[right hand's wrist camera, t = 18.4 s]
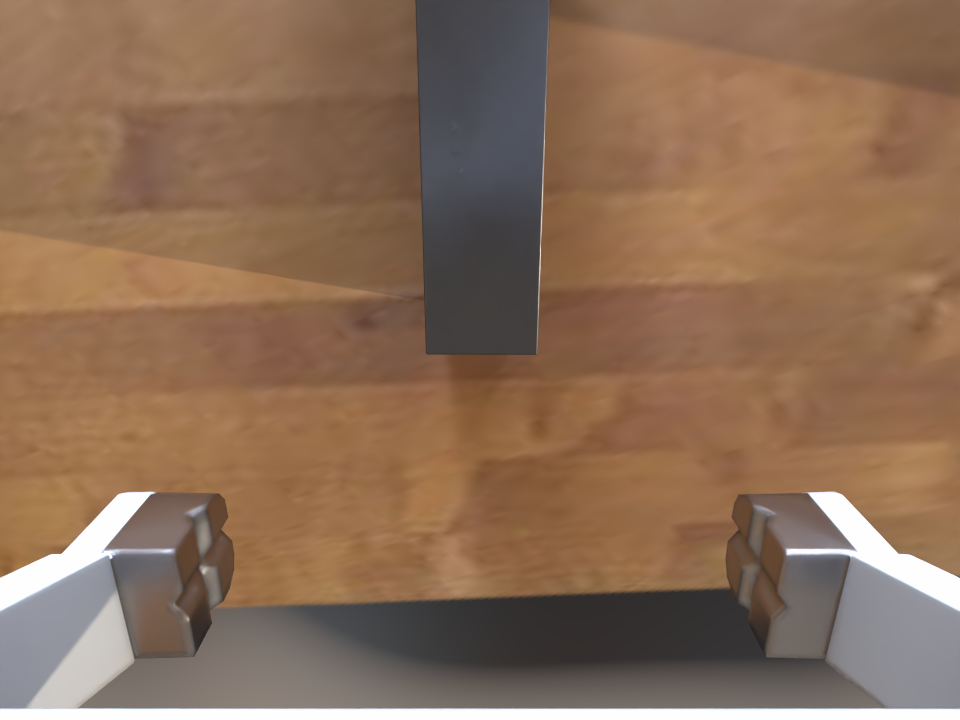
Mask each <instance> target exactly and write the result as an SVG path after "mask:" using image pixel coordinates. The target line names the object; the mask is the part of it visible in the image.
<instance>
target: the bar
mask: <svg viewBox="0 0 960 720" xmlns="http://www.w3.org/2000/svg"><path fill="white" fill-rule="evenodd" d="M549 14H550V0H416V30H417V64H418V97H419V131H420V165H421V199H422V232H423V266H424V300H425V333H426V354H514V355H536V354H537V353H538V326H539V298H540V269H541V241H542V213H543V184H544V156H545V128H546V99H547V71H548V43H549Z"/></svg>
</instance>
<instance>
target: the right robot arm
mask: <svg viewBox="0 0 960 720" xmlns="http://www.w3.org/2000/svg"><path fill="white" fill-rule="evenodd" d="M227 518H228V514H227V509H226V504H225V499H224V498H223V497H222V496H221V495H220V494H217V493H168V492H158V493H155V492H126V493H122V494H118V495H117V496H116V497H115V498H114V499H113V500H112V502H111V503H110V504H109V505H108V506H107V507H106V508H105V509H104V510H103V511H102V512H101V513H100V514H99V515H98V516H97V517H96V518H95V520H94V521H93V522H92V523H91V524H90V525H89V526H88V527H87V528H86V529H85V530H84V531H83V532H82V533H81V534H80V535H79V536H78V537H77V539H76V540H75V541H74V542H73V543H72V544H71V545H70V546H69V547H68V548H67V549H66V550H65V551H64V552H63V553H62V554H51V555H49V556H46V557H44V558H42V559H40V560H38V561H36V562H34V563H32V564H29V565H27V566H25V567H23V568H21V569H19V570H17V571H14V572H12V573H10V574H8V575H6V576H4V577H2V578H0V720H960V578H958V577H956V576H954V575H952V574H950V573H948V572H945V571H943V570H941V569H939V568H937V567H935V566H933V565H931V564H928V563H926V562H924V561H922V560H920V559H918V558H916V557H914V556H911V555H909V554H898V553H897V552H896V551H895V550H894V549H893V548H892V547H891V546H890V545H889V544H888V543H887V542H886V541H885V540H884V538H883V537H882V536H881V535H880V534H879V533H878V532H877V531H876V530H875V529H874V528H873V527H872V526H871V525H870V524H869V523H868V522H867V520H866V519H865V518H864V517H863V516H862V515H861V514H860V513H859V512H858V511H857V510H856V509H855V508H854V507H853V506H852V505H851V504H850V502H849V501H848V500H847V499H846V498H845V497H844V496H843V495H841V494H839V493H836V492H811V493H785V494H744V495H738V497H737V499H736V501H735V503H734V508H733V513H732V518H733V520H734V522H735V523H736V525H737V527H738V528H739V530H738V531H737V532H736V533H735V534H734V535H733V536H732V537H731V538H730V539H729V540H728V544H727V552H726V569H727V578H728V581H729V585H730V588H731V591H732V593H733V595H734V597H735V599H736V601H737V602H738V603H740V604H741V605H743V606H744V607H746V608H747V609H749V610H750V615H749V621H748V624H749V626H750V628H751V629H752V631H753V633H754V635H755V637H756V639H757V641H758V643H759V645H760V646H761V648H762V650H763V652H764V654H765V656H766V657H783V658H819V659H825V662H826V663H828V664H829V665H830V666H831V667H833V668H834V669H835V670H836V671H837V672H839V673H840V674H841V675H843V676H844V677H845V678H846V679H847V680H849V681H850V682H851V683H852V684H854V685H855V686H856V687H857V688H858V689H860V690H861V691H862V692H864V693H865V694H866V695H867V696H868V697H870V698H871V699H872V700H873V701H875V702H876V703H877V704H878V705H880V706H881V707H882V708H883V709H77V708H78V707H79V706H81V705H82V704H83V703H84V702H86V701H87V700H88V699H89V698H91V697H92V696H93V695H94V694H96V693H97V692H98V691H99V690H100V689H102V688H103V687H104V686H105V685H107V684H108V683H109V682H110V681H112V680H113V679H114V678H115V677H117V676H118V675H119V674H120V673H121V672H123V671H124V670H125V669H126V668H128V667H129V666H130V665H131V664H133V663H134V662H135V659H141V658H176V657H194V656H195V654H196V652H197V650H198V648H199V647H200V645H201V643H202V641H203V639H204V637H205V635H206V633H207V631H208V629H209V628H210V626H211V624H212V621H211V615H210V610H211V609H213V608H214V607H216V606H217V605H219V604H220V603H222V602H223V601H224V599H225V597H226V595H227V592H228V590H229V588H230V585H231V580H232V576H233V571H234V550H233V543H232V540H231V539H230V538H229V537H228V536H227V535H226V534H225V533H224V532H223V531H222V530H221V528H222V527H223V525H224V523H225V522H226V520H227Z"/></svg>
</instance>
